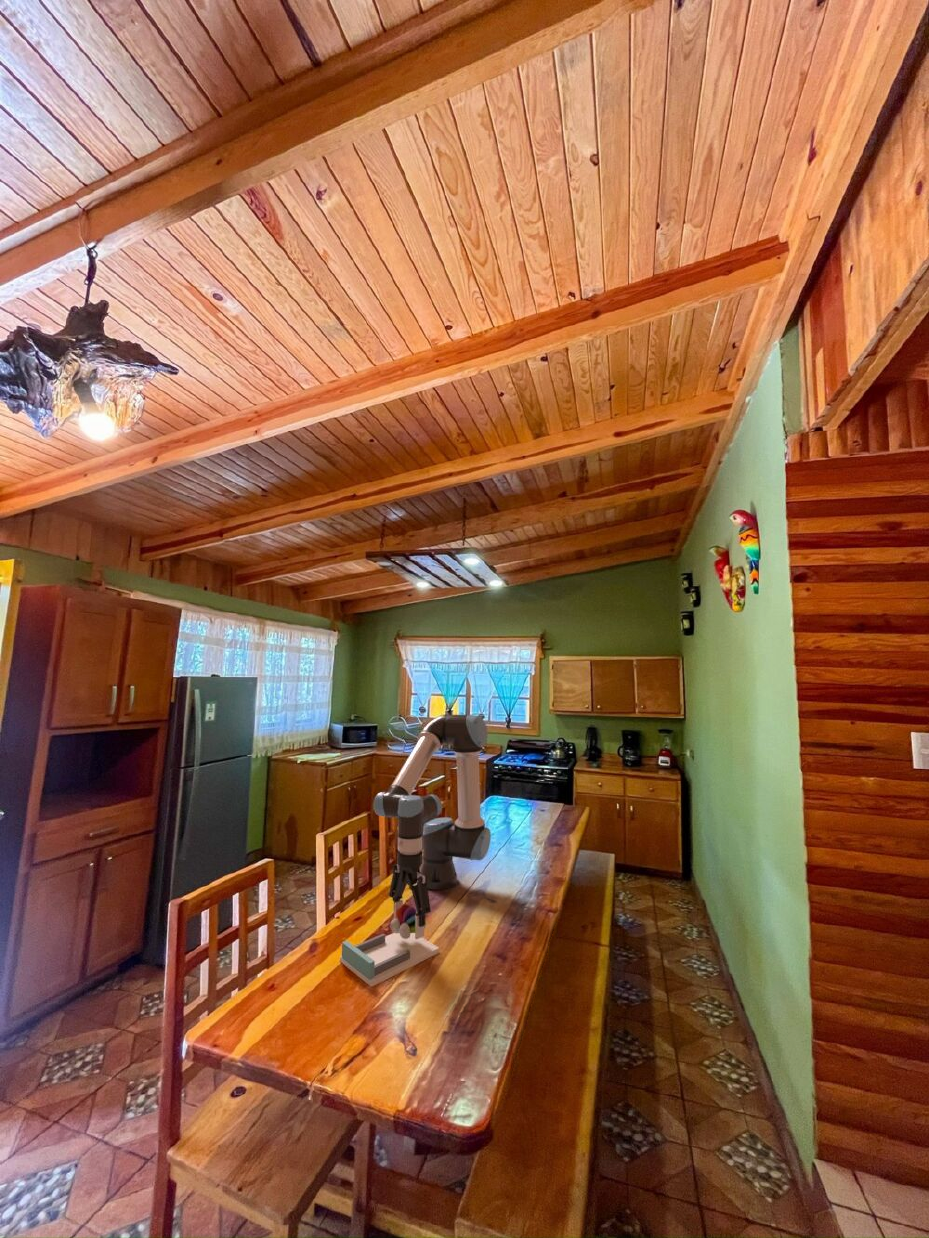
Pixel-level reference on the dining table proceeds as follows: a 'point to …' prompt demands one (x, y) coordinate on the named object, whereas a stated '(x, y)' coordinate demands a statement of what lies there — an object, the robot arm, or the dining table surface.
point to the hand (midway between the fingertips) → (408, 930)
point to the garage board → (385, 956)
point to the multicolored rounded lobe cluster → (404, 921)
